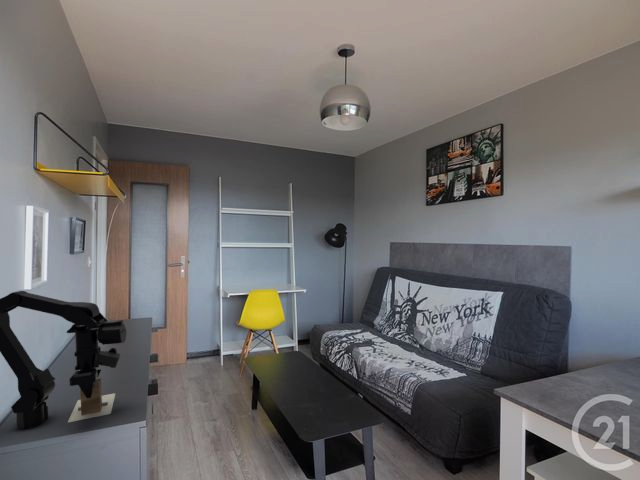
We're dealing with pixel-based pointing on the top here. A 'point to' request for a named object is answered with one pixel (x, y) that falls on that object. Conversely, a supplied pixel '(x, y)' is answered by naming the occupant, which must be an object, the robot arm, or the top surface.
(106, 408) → the mat
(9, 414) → the top surface
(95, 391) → the walnut block
